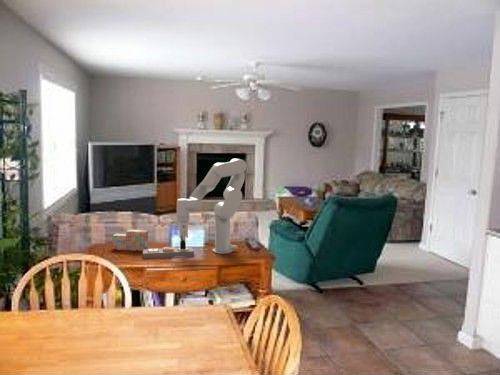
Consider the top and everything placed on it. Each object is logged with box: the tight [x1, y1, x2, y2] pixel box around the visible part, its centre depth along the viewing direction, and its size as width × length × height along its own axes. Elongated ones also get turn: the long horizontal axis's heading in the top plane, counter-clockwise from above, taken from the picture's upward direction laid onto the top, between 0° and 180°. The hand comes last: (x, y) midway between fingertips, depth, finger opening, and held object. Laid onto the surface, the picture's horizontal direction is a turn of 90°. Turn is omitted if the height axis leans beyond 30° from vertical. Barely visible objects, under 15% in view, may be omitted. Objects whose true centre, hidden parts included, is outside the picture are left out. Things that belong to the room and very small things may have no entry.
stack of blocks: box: [111, 229, 149, 252], centre depth 283 cm, size 21×6×12 cm, turn 84°
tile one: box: [148, 248, 159, 253], centre depth 268 cm, size 6×6×3 cm
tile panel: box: [142, 246, 195, 259], centre depth 270 cm, size 30×10×3 cm, turn 103°
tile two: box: [177, 246, 188, 251], centre depth 272 cm, size 6×6×3 cm
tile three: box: [162, 246, 174, 252], centre depth 270 cm, size 6×6×3 cm
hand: (182, 248), depth 272 cm, fingers closed
